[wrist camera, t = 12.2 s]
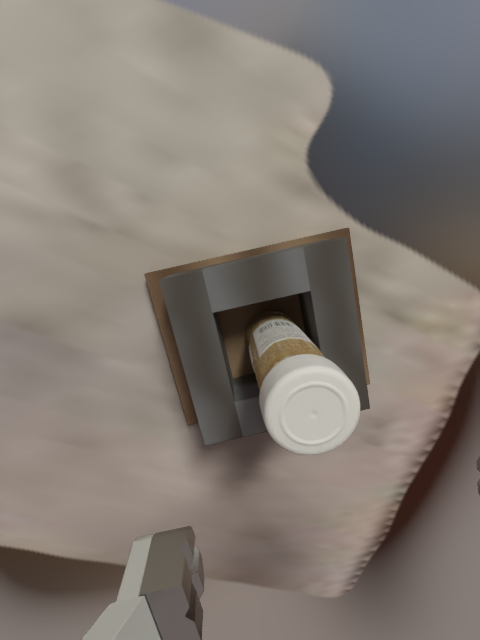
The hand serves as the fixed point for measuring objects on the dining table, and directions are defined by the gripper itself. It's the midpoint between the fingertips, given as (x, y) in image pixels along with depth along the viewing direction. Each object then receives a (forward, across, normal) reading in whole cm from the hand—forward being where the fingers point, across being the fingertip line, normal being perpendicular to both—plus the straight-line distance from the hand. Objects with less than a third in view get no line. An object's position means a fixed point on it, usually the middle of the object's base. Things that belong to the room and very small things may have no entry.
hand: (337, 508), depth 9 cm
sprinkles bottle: (+19, -1, +1) cm, 19 cm away
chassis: (+20, 0, 0) cm, 20 cm away
